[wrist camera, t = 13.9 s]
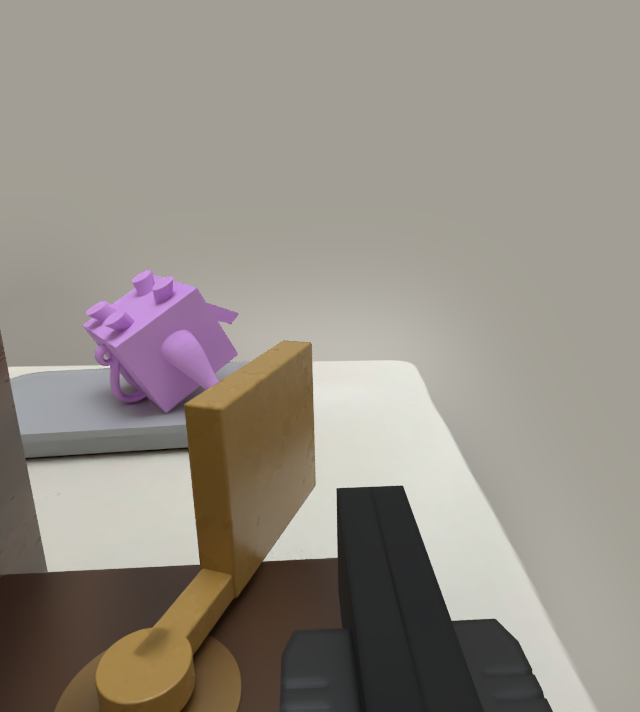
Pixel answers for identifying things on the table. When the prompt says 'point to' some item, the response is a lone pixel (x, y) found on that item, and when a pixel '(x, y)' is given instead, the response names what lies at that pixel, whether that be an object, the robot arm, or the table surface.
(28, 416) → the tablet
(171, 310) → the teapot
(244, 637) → the case
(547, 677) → the table surface
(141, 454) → the table surface
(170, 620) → the lever
